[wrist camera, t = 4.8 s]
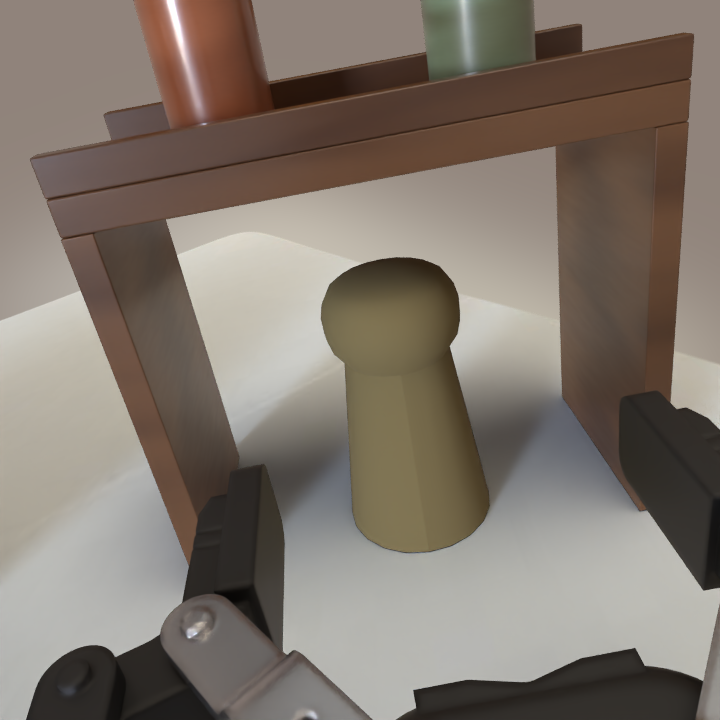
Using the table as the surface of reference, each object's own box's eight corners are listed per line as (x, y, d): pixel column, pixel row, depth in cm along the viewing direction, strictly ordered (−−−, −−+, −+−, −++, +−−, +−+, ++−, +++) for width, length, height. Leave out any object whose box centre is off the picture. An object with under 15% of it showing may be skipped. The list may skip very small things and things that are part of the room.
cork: (372, 456, 33) (330, 245, 28) (496, 461, 31) (477, 235, 26) (335, 546, 28) (276, 309, 23) (481, 558, 26) (453, 303, 21)
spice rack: (664, 506, 27) (709, -181, 17) (199, 593, 27) (-50, -38, 17) (580, 392, 35) (575, -123, 25) (220, 460, 35) (61, -26, 25)
